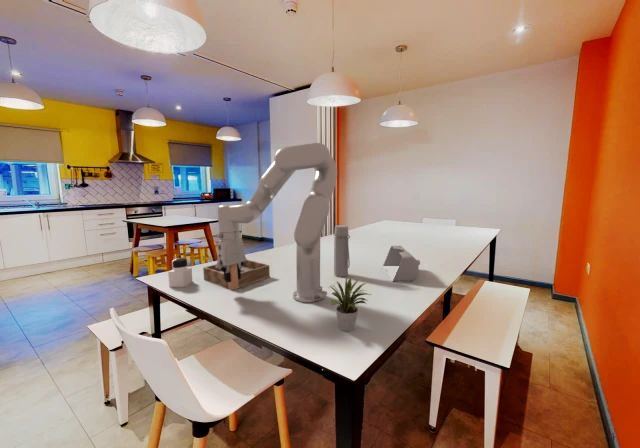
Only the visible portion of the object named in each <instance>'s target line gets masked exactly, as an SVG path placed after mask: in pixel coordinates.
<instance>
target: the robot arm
mask: <svg viewBox="0 0 640 448" xmlns="http://www.w3.org/2000/svg"><path fill="white" fill-rule="evenodd" d="M308 169H314V171H315V172H314V173H315V174H314V178H313V181H312V184H311V188H310V190H309V193H308V195H307V197H306V199H305V200H304V202H303V205H302V207H301V211H300V214H299V218H298V220H297V222H296V226H295V229H294V233H293V237H294V241H295V242H296V249H295V250H296V258H295V259H296V260H295V261H296V262H295V263H296V290H295V291H294V292H293V293H292V297H293V299H294V300H296V302H303V303H315V302H319V301H321V300H322V299H323V300H324V299H326V298H327V295H328V292H327V291H325V290H323V286H321V236H322V233H323V231H324V227H325V225H326V221H327V219H328V216H329V214H330V203H331V199H332V196H333V193H334V190H335V187H336V183H337V178H338V167H337V164H336V161H335V160H334V158H333V156H332V155H331V154H330V149H329V148H328V146H326V145H325V144H324V143H321V142H311V143H305V144H299V145H298V144H297V145H292V146H291V145H290V146H283V147H282V148H280V149H278V150H277V151H276V152H275V154H274V161H273V162H272V163H271V164H270V166H269V167H268V168H267V170H266V171H265V172H264V173H263V175H262V176H261V177H260V179H259V181H258V186H257V189H256V190H255V192H254V194H253V195H252V196H251V197H250V198H249V200H248V201H247V202H246V203H241V204H233V203H232V204H228V203H227V204H219V205H218V206H217V218H218V219H217V220H218V230H219V231H218V234H217V235H216V238H217V239H218V243H217V262H216V264H215V265H216V266H215V267H216V268H218V269H220V270H222V271H223V272H224V279H225V281H226V282H231V274H230V272H229V266H230V265H233V264H237V271H238V279H241V271H240V269H241V268H242V265H243V264H244V262H245V261H246V260H248V259H247V257H246V253H245V245H244V242H243V241H244V240H243V238H242V237H241V236H240V224H249V223H252V222H253V221H256V220H258V218H259V217H260V216H261V215H262V213H264V211H265V210H266V209H267V207H268V206H269V205H270V203H271V202H272V201H273V199H274V198H275V197H276V196H277V195H278V194H279V192H280V191H281V189H282V188H283V186H284V185H285V184H286V183H287V182H288V181H289V179H290V178H291V177H292V175H293V174H294V173H295V172H296V171H300V170H308ZM222 264H223V267H222V266H221V265H222Z"/></svg>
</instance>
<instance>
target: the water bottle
mask: <svg viewBox="0 0 640 448" xmlns="http://www.w3.org/2000/svg"><path fill="white" fill-rule="evenodd" d="M333 236H334V238H333V239H334V240H333V241H334V242H333V252H334V253H333V270H334V271H333V275H334V276H335V277H339V278H344V277H348V275H349V268H350V265H351V264H350V263H351V262H350V248H349V239H350V238H351V236H350V235H349V227H348V225H344V224H342V225H341V224H339V225H337V224H336V225H335V226H334V232H333Z"/></svg>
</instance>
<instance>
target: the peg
mask: <svg viewBox="0 0 640 448" xmlns="http://www.w3.org/2000/svg"><path fill="white" fill-rule="evenodd" d="M229 272H230V274H231V282H228V288H229V289H228V290H230V289H233V290H237V289H238V287H239V285H238V271H237V264H233V265H230V266H229ZM239 288H240V287H239Z"/></svg>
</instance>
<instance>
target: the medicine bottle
mask: <svg viewBox="0 0 640 448" xmlns="http://www.w3.org/2000/svg"><path fill="white" fill-rule="evenodd" d="M171 265H172V266H171V267H172V269H171V270H169V271H168V272H167V275H168V286H169V288H186V287H187V286H189V285H190V284H192V283H193V269H192V267H189V266H188V259H187V258H184V257H179V258H174V259H173V260H172V261H171Z"/></svg>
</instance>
